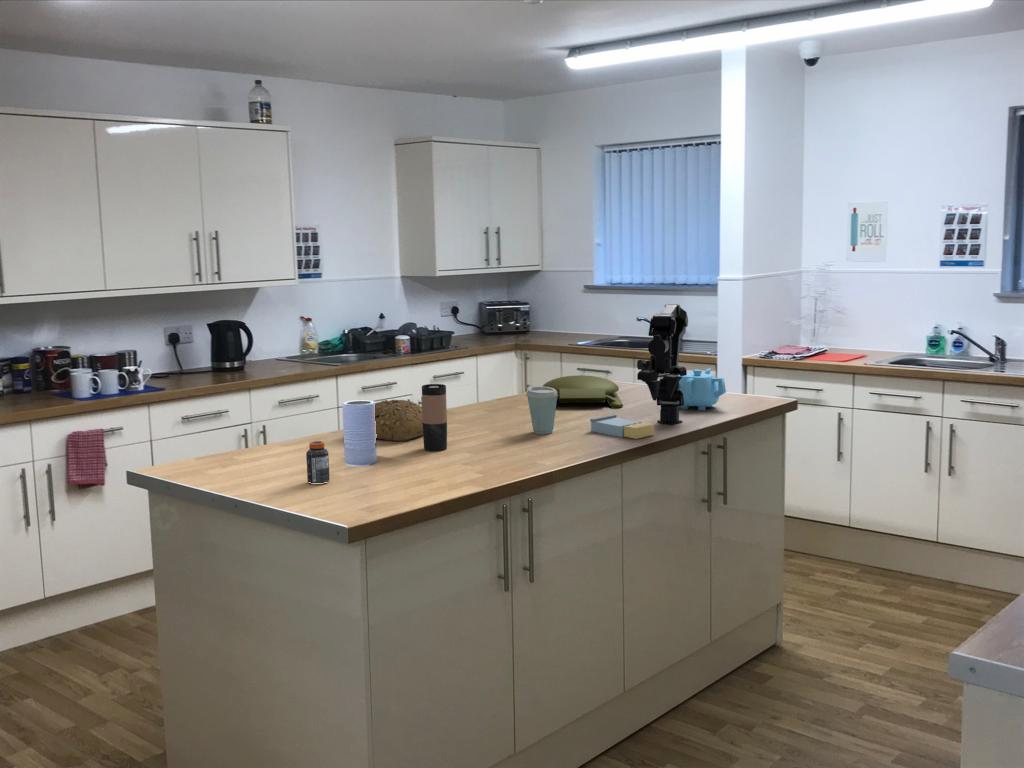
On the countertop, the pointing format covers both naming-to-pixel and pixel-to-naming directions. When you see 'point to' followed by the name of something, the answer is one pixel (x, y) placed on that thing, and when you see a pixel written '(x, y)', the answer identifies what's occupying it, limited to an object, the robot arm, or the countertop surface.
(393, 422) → the bread
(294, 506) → the countertop surface
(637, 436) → the stub
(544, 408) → the disposable coffee cup
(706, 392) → the teapot
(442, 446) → the travel mug
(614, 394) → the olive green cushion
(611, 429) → the ticket
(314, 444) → the pill bottle
